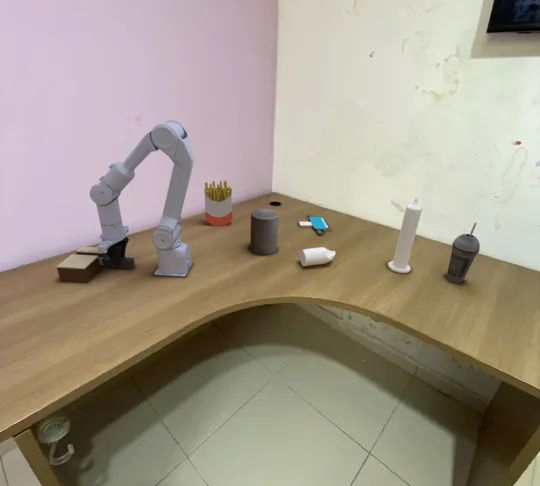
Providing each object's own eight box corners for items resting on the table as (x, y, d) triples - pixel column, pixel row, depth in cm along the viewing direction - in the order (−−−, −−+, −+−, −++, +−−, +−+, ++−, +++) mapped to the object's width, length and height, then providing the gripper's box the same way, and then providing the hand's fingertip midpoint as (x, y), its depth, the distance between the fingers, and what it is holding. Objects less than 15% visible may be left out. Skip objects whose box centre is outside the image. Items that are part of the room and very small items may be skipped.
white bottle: (338, 265, 103) (340, 251, 101) (304, 269, 100) (306, 254, 98) (330, 257, 108) (332, 242, 106) (298, 260, 105) (299, 245, 103)
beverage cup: (464, 275, 101) (485, 219, 92) (469, 287, 95) (492, 228, 86) (440, 270, 103) (458, 215, 94) (443, 282, 97) (463, 224, 88)
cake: (101, 269, 95) (97, 255, 93) (88, 282, 89) (84, 268, 87) (75, 268, 95) (71, 254, 93) (60, 281, 89) (56, 266, 87)
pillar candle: (245, 251, 109) (245, 212, 103) (256, 240, 118) (257, 203, 111) (271, 257, 106) (273, 217, 100) (280, 245, 114) (283, 207, 108)
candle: (410, 265, 105) (429, 195, 95) (409, 275, 99) (429, 202, 89) (388, 260, 108) (405, 191, 97) (386, 270, 102) (403, 198, 91)
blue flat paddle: (296, 216, 142) (296, 212, 141) (321, 216, 143) (321, 212, 142) (303, 235, 124) (304, 231, 123) (332, 235, 125) (333, 231, 124)
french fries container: (232, 225, 129) (232, 183, 122) (206, 226, 127) (204, 184, 120) (231, 221, 133) (231, 180, 126) (206, 221, 131) (204, 180, 124)
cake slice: (109, 261, 100) (106, 247, 98) (104, 266, 97) (101, 252, 95) (84, 260, 100) (81, 246, 98) (79, 265, 97) (75, 251, 95)
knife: (135, 265, 97) (133, 257, 96) (132, 268, 96) (130, 261, 94) (78, 261, 98) (76, 254, 96) (74, 265, 96) (72, 257, 95)
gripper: (110, 212, 97) (117, 250, 103) (83, 231, 84) (93, 274, 89) (132, 213, 97) (138, 251, 102) (108, 233, 83) (117, 275, 89)
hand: (118, 262), depth 96 cm, fingers closed on knife, 2 cm apart
